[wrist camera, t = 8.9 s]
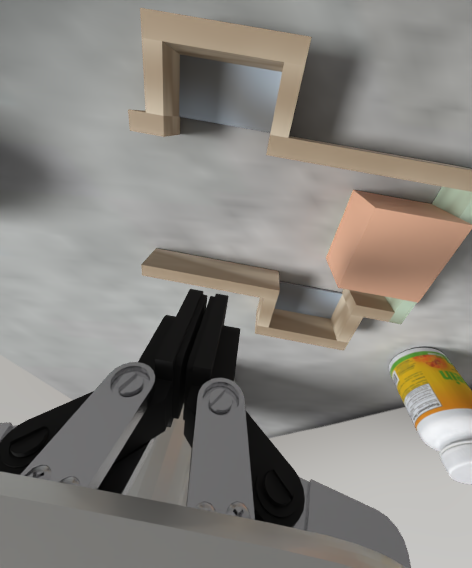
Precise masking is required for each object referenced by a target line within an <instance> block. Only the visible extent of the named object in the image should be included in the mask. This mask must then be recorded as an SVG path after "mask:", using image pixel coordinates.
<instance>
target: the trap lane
mask: <svg viewBox="0 0 472 568" xmlns="http://www.w3.org/2000/svg"><path fill="white" fill-rule="evenodd" d="M140 13H141V32H142V51H143V70H144V89H145V108H146V111H140V110H128V114H129V126H130V131H135V132H141V133H146V134H152V135H157V136H163V137H165V136H172V135H179V134H180V117H184V118H190V119H195V120H201V121H207V122H212V123H218V124H223V125H229V126H235V127H240V128H246V129H252V130H257V131H263V132H269V133H270V138H269V143H268V148H267V155H269V156H275V157H280V158H286V159H291V160H297V161H303V162H308V163H314V164H319V165H325V166H331V167H336V168H342V169H347V170H353V171H359V172H364V173H370V174H375V175H381V176H386V177H392V178H398V179H403V180H409V181H414V182H420V183H426V184H431V185H437V186H442V188H441V189H440V191H439V193H438V194H437V196H436V198H435V199H434V201H433V203H432V205H434V206H436V207H438V208H440V209H442V210H444V211H446V212H448V213H450V214H452V215H454V216H456V217H458V218H460V219H462V220H464V221H466V222H468V223H470V224H472V168H466V167H461V166H455V165H450V164H444V163H438V162H433V161H427V160H421V159H416V158H410V157H404V156H399V155H393V154H388V153H382V152H376V151H371V150H365V149H359V148H354V147H348V146H342V145H337V144H331V143H326V142H320V141H314V140H309V139H303V138H297V137H292V136H289V133H290V129H291V124H292V120H293V116H294V111H295V107H296V103H297V98H298V94H299V89H300V85H301V81H302V76H303V72H304V68H305V63H306V59H307V55H308V50H309V46H310V42H311V37H309V36H303V35H297V34H291V33H285V32H280V31H274V30H268V29H262V28H256V27H250V26H244V25H238V24H233V23H227V22H221V21H215V20H209V19H203V18H197V17H191V16H186V15H180V14H174V13H168V12H162V11H156V10H150V9H144V8H140ZM141 266H142V275H143V276H149V277H154V278H159V279H165V280H170V281H175V282H180V283H186V284H191V285H196V286H202V287H207V288H212V289H217V290H223V291H228V292H233V293H239V294H244V295H249V296H254V297H260V300H259V304H258V308H257V313H256V326H255V334H260V335H266V336H271V337H276V338H281V339H286V340H292V341H297V342H302V343H307V344H313V345H318V346H323V347H328V348H333V349H339V350H344V349H345V348H346V346H347V344H348V343H349V341H350V339H351V337H352V336H353V334H354V332H355V331H356V329H357V327H358V326H359V324H360V322H361V321H362V319H363V317H365V318H371V319H376V320H381V321H386V322H392V323H397V324H402V322H403V321H404V320H405V318H406V317H407V315H408V314H409V313H410V311H411V310H412V308H413V307H414V306H415V304H416V303H417V302H412V301H407V300H401V299H396V298H391V297H385V296H380V295H375V294H369V293H364V292H358V291H353V290H348V289H344V290H343V292H342V293H340V292H334V291H329V290H324V289H318V288H313V287H308V286H302V285H297V284H292V283H286V282H281V281H279V271H275V270H270V269H264V268H259V267H254V266H248V265H243V264H238V263H232V262H227V261H222V260H216V259H211V258H206V257H200V256H195V255H190V254H184V253H179V252H174V251H168V250H163V249H158V248H156V249H155V250H154V251H153V252H152V253H151V255H150V256H149V257H148V258H147V259H146V260H145V261H144V262H143V263H142V265H141Z"/></svg>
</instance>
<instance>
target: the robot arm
mask: <svg viewBox="0 0 472 568" xmlns="http://www.w3.org/2000/svg"><path fill="white" fill-rule="evenodd" d="M227 302H228V296H226V295H221V294H216V295H215V297H213V296H211V297H210V299H209V302H208V305H207V308H206V303H207V295H203V291H199V290H193V289H190V290H189V292H188V294H187V296H186V298H185V300H184V302H183V304H182V306H181V308H180V310H179V312H178V314H177V316H176V317H174V316H169V315H166V316H165V317H164V318H163V320H162V321H161V323H160V325H159V327H158V328H157V330H156V332H155V333H154V335H153V337H152V339H151V340H150V342H149V344H148V346H147V347H146V349H145V351H144V353H143V354H142V356H141V358H140V360H139V361H138V362H131V363H127V364H123V365H121V366H119V367H117V368H115V369H114V370H113V371H112V372H111V373H110V374H109V375H108V376H107V377H106V378H105V379H104V380H103V382H102V383H101V384H100V385H99V386H98V387H97V388H96V390H95V391H93V392H91V393H89V394H86V395H84V396H82V397H79V398H77V399H75V400H73V401H70V402H68V403H66V404H63V405H61V406H59V407H57V408H54V409H52V410H50V411H47V412H45V413H43V414H41V415H38V416H36V417H34V418H31V419H29V420H27V421H25V422H23V423H22V424H20V425H18V426H12V424H11V423H0V568H411V565H410V560H409V555H408V551H407V548H406V545H405V542H404V539H403V537H402V536H401V534H400V532H399V531H398V529H397V527H396V526H395V525H394V524H393V523H392V522H391V521H390V519H389V518H388V517H387V516H385V515H384V514H382V513H381V512H379V511H378V510H376V509H374V508H372V507H369V506H367V505H365V504H363V503H361V502H359V501H357V500H355V499H352V498H350V497H348V496H346V495H344V494H342V493H340V492H337V491H335V490H333V489H331V488H329V487H327V486H324V485H322V484H320V483H318V482H316V481H314V480H312V479H311V480H310V482H308V481H306V480H304V479H302V478H300V477H298V475H297V474H296V472H295V470H294V469H293V468H292V467H291V465H290V464H289V463H288V462H287V461H286V459H285V458H284V457H283V456H282V455H281V453H280V452H279V451H278V450H277V448H276V447H275V446H274V445H273V443H272V442H271V441H270V440H269V439H268V437H267V436H266V435H265V434H264V432H263V431H262V430H261V429H260V428H259V426H258V425H257V424H256V423H255V421H254V420H253V419H252V418H251V417H250V415H249V414H248V413H247V412H246V410H245V400H244V395H243V392H242V390H241V389H240V387H239V386H238V385H237V384H236V382H235V377H234V375H235V367H236V359H237V351H238V343H239V335H240V329H239V328H234V327H228V326H224V320H225V314H226V308H227Z"/></svg>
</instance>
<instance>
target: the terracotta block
mask: <svg viewBox="0 0 472 568" xmlns="http://www.w3.org/2000/svg"><path fill="white" fill-rule="evenodd" d="M471 229H472V224H470V223H468V222H466V221H464V220H462V219H460V218H458V217H456V216H454V215H452V214H450V213H448V212H446V211H444V210H442V209H440V208H438V207H436V206H434V205H432V204H429V203H424V202H418V201H413V200H407V199H401V198H396V197H390V196H385V195H379V194H374V193H368V192H363V191H357V190H353V192H352V194H351V197H350V199H349V202H348V204H347V207H346V209H345V212H344V214H343V217H342V219H341V222H340V224H339V227H338V229H337V232H336V234H335V237H334V239H333V242H332V244H331V247H330V249H329V252H328V254H327V257H326V259H327V262H328V264H329V267H330V269H331V272H332V274H333V276H334V279H335V281H336V284H337V286H338V288H342V289H348V290H353V291H358V292H364V293H369V294H375V295H380V296H385V297H391V298H396V299H401V300H407V301H412V302H417V303H418V302H419V301H420V300H421V298H422V297H423V296H424V294H425V293H426V291H427V290H428V289H429V287H430V286H431V285H432V283H433V282H434V280H435V279H436V278H437V276H438V275H439V274H440V272H441V271H442V269H443V268H444V267H445V265H446V264H447V262H448V261H449V260H450V258H451V257H452V256H453V254H454V253H455V251H456V250H457V249H458V247H459V246H460V245H461V243H462V242H463V240H464V239H465V238H466V236H467V235H468V234H469V232H470V231H471Z"/></svg>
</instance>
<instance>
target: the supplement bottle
mask: <svg viewBox="0 0 472 568" xmlns="http://www.w3.org/2000/svg"><path fill="white" fill-rule="evenodd" d="M389 372H390V375H391V377H392V379H393V381H394V384H395V386H396V388H397V390H398V392H399V394H400V396H401V398H402V400H403V402H404V405H405V407H406V408H407V411H408V413H409V415H410V417H411V419H412V422H413V424H414V426H415V428H416V430H417V432H418V434H419V436H420V438H421V439H422V440H423V442H424V443H425V444H426V445H428V446H429V447H431V448H432V449H434V450H437V451H439V452H440V453H439V455H440V458H441V461H442V463H443V465H444V467H445V469H446V471H447V472H448V474H449V476H450V477H451V478H452V479H453V480H455V481H457V482H460V483H464V484H471V485H472V390H471V389H470V388H469V386H468V385H467V384H466V382H465V381H464V380H463V378H462V377H461V375H460V374H459V373H458V371H457V370H456V369H455V367H454V366H453V365H452V363H451V362H450V361H449V359H448V358H447V357H446V356H445V355H444V354H443V353H442V352H440V351H438V350H436V349H432V348H414V349H409V350H406V351H404V352H402V353H400V354H398V355H397V356H396V357H394V358H393V360H392V361H391V363H390V365H389Z"/></svg>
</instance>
